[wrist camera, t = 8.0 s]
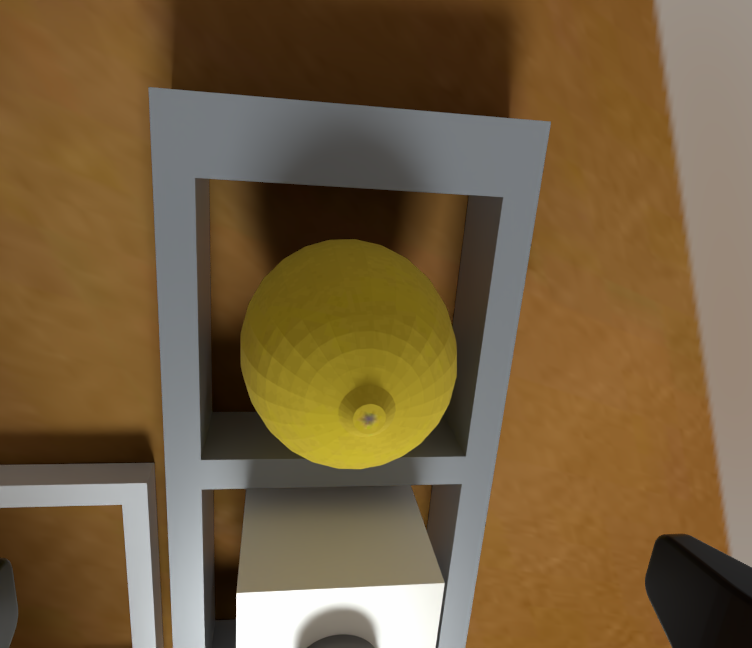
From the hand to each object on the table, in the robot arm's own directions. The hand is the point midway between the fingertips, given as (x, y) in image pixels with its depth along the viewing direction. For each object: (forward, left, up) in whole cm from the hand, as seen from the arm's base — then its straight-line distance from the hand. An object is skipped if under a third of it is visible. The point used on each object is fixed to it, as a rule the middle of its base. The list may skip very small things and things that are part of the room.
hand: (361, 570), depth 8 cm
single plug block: (-9, -1, -12) cm, 15 cm away
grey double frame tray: (-4, -1, -12) cm, 13 cm away
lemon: (0, -1, -12) cm, 12 cm away
